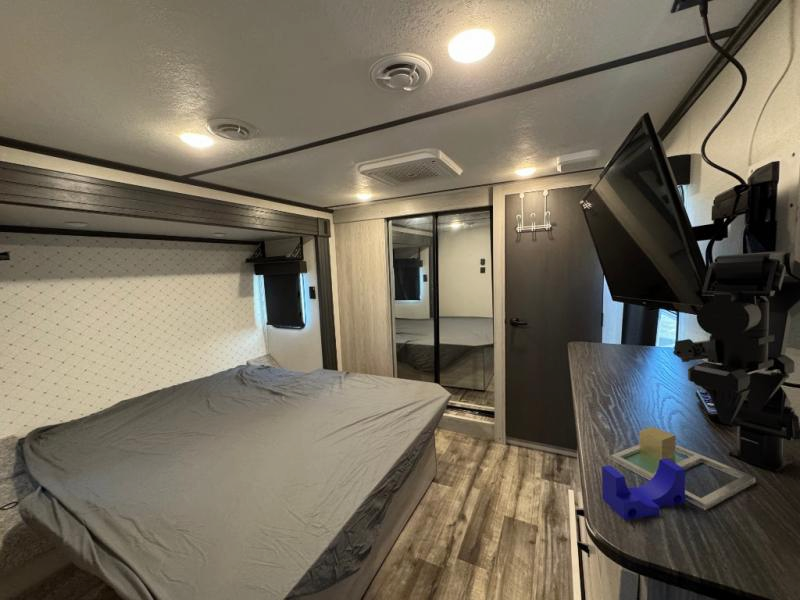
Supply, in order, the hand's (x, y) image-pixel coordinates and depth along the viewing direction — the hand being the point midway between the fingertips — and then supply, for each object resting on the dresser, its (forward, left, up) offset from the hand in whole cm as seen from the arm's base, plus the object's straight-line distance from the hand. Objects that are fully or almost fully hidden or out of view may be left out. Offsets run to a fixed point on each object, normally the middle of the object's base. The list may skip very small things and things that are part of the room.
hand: (740, 417), depth 53 cm
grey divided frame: (+5, -7, -12) cm, 15 cm away
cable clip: (+19, -4, -12) cm, 23 cm away
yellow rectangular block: (+5, -10, -12) cm, 16 cm away
